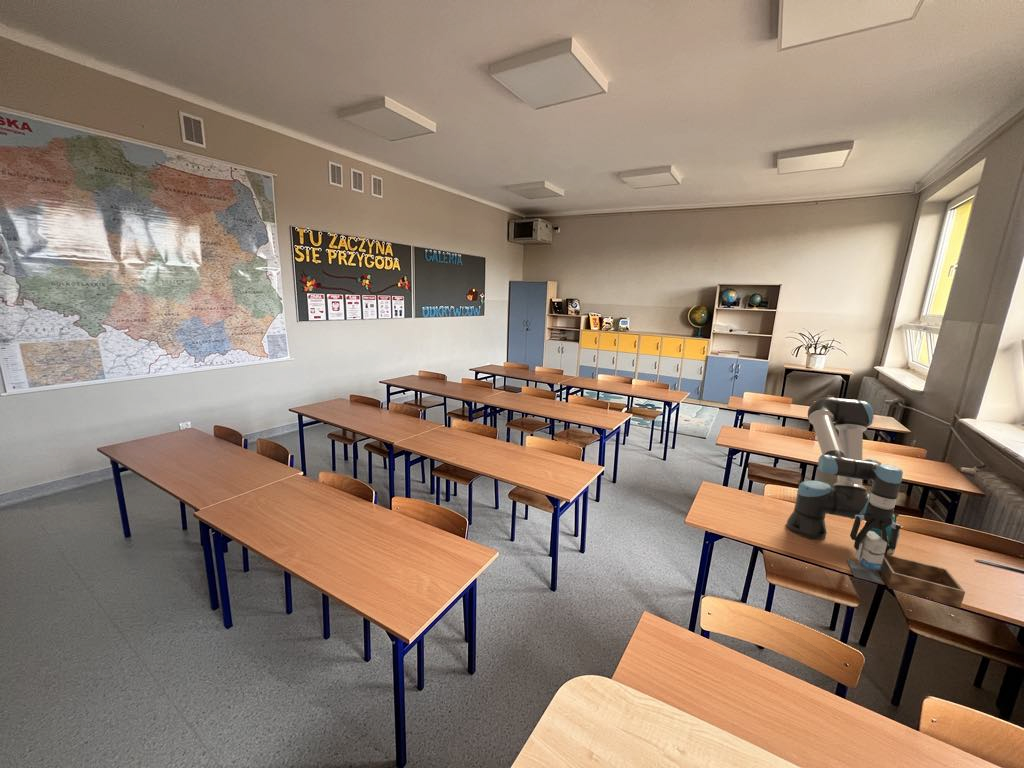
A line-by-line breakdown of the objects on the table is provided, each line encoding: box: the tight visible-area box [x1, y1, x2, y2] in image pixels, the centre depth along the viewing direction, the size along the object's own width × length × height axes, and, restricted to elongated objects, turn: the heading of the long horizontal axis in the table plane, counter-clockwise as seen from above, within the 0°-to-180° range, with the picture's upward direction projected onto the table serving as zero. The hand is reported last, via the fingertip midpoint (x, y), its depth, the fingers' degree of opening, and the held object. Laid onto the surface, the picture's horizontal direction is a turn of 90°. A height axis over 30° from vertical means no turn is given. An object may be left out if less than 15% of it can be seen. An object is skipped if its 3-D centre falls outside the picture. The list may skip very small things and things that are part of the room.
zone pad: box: [846, 558, 885, 585], centre depth 164 cm, size 9×12×1 cm
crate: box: [877, 554, 966, 609], centre depth 156 cm, size 20×15×6 cm
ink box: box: [853, 529, 887, 571], centre depth 162 cm, size 8×5×12 cm, turn 168°
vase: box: [869, 513, 900, 556], centre depth 174 cm, size 11×11×19 cm
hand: (867, 559), depth 163 cm, fingers closed on ink box, 6 cm apart
